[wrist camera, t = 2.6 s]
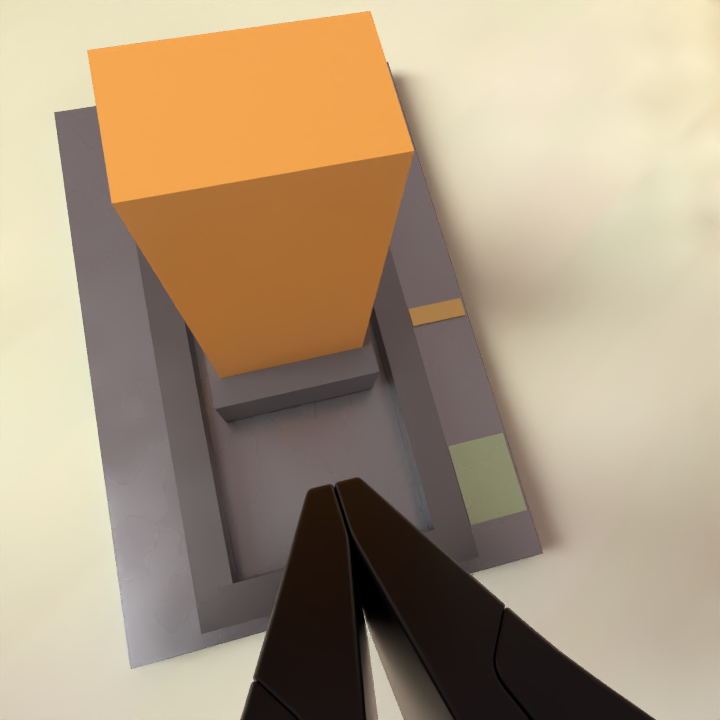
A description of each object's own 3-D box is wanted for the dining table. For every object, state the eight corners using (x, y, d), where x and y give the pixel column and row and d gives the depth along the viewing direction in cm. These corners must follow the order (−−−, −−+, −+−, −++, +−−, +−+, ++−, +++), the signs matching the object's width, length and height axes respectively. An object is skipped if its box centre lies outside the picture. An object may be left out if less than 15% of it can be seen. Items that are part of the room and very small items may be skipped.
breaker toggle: (372, 388, 18) (451, 198, 8) (225, 421, 18) (96, 264, 7) (342, 272, 19) (376, -34, 9) (202, 300, 19) (57, 6, 8)
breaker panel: (533, 551, 18) (558, 554, 16) (139, 662, 17) (116, 679, 15) (385, 77, 23) (392, 35, 21) (63, 127, 21) (38, 87, 19)
